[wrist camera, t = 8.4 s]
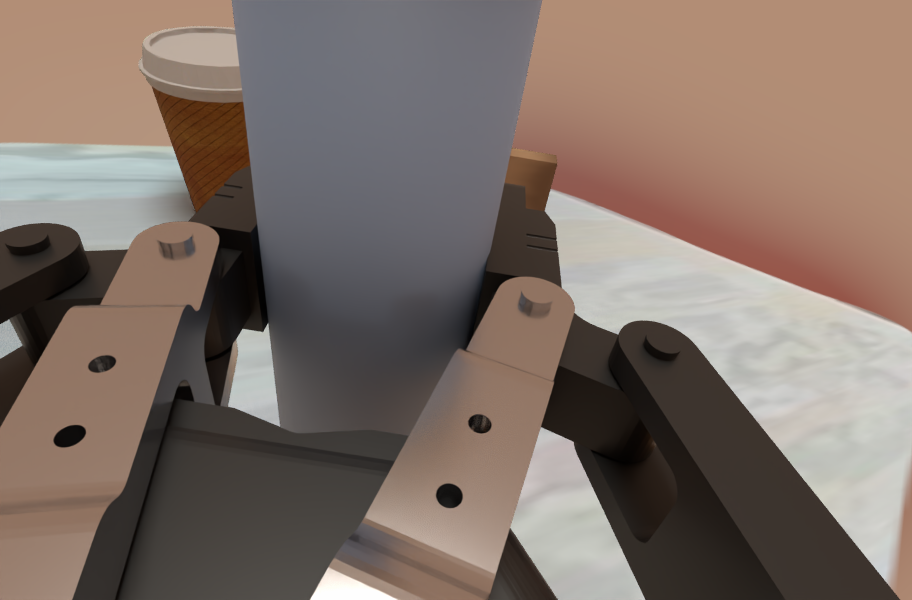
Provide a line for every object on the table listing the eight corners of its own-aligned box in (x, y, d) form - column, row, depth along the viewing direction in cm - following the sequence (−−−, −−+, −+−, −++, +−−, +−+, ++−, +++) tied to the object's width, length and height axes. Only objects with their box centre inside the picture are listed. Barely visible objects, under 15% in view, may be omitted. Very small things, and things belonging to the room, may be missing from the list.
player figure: (247, 555, 13) (-286, -1790, 2) (307, 405, 16) (240, -700, 6) (441, 585, 13) (987, -1535, 2) (458, 429, 16) (683, -618, 6)
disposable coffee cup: (146, 201, 41) (103, 32, 34) (253, 167, 48) (237, 19, 40) (220, 256, 37) (190, 79, 30) (327, 211, 44) (324, 55, 36)
